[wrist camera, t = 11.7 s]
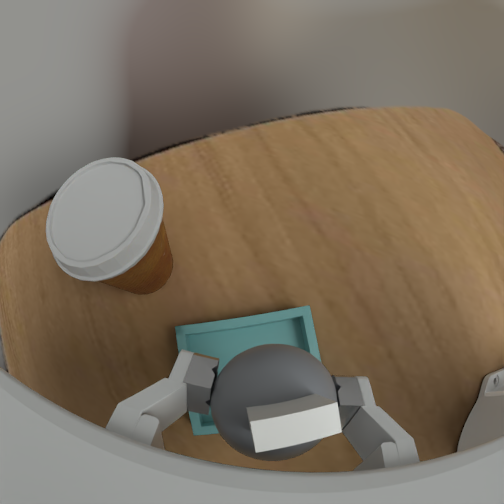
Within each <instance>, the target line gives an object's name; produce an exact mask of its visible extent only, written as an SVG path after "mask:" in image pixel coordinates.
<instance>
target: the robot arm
mask: <svg viewBox="0 0 504 504" xmlns="http://www.w3.org/2000/svg"><path fill="white" fill-rule="evenodd" d="M219 360H220V359H219V358H215V357H211V356H207V355H203V354H199V353H194V352H190V351H187V350H183V349H182V350H181V351H180V353H179V355H178V357H177V360H176V362H175V364H174V367H173V369H172V371H171V374H170V376H169V378H163V379H162V380H160V381H158V382H156V383H155V384H153V385H151V386H149V387H147V388H146V389H144V390H142V391H140V392H138V393H137V394H135V395H133V396H131V397H129V398H127V399H125V400H124V401H122V402H120V403H118V405H117V407H116V409H115V411H114V412H113V414H112V416H111V418H110V420H109V422H108V424H107V426H106V428H103V427H101V426H98V425H96V424H94V423H92V422H90V421H88V420H85V419H83V418H81V417H79V416H77V415H75V414H73V413H72V412H70V411H68V410H66V409H64V408H62V407H60V406H59V405H57V404H55V403H53V402H52V401H50V400H48V399H47V398H45V397H43V396H42V395H40V394H38V393H37V392H35V391H34V390H32V389H31V388H29V387H27V386H26V385H24V384H23V383H22V382H20V381H19V380H17V379H16V378H14V377H13V376H12V375H10V374H9V373H8V372H6V371H5V370H4V369H2V368H1V367H0V504H504V368H502V369H500V370H497V371H495V372H493V373H490V374H488V375H486V376H485V378H484V380H483V383H482V386H481V390H480V393H479V397H478V400H477V402H476V404H475V405H474V407H473V409H472V411H471V413H470V415H469V417H468V419H467V421H466V423H465V425H464V428H463V431H462V434H461V437H460V440H459V444H458V449H457V452H456V453H453V454H449V455H446V456H442V457H438V458H434V459H430V460H426V461H421V462H420V461H419V457H418V453H417V450H416V446H415V442H414V439H413V438H412V437H411V436H410V435H409V434H408V433H407V432H406V431H405V430H404V429H403V428H402V427H401V426H400V425H398V424H397V423H396V422H395V421H394V420H393V419H392V418H391V417H390V416H389V415H388V414H387V413H386V412H385V411H384V410H383V409H382V408H381V407H379V406H376V404H375V400H374V397H373V393H372V389H371V386H370V382H369V379H368V378H367V377H364V376H345V375H332V376H331V377H332V379H333V382H334V385H335V389H336V394H337V402H338V409H339V416H340V423H341V430H342V432H343V434H344V435H345V436H346V438H347V439H348V440H349V442H350V443H351V445H352V446H353V447H354V449H355V450H356V451H357V453H358V454H359V455H360V457H361V458H362V460H363V462H362V463H361V464H359V465H358V466H357V467H356V468H355V469H354V470H353V471H347V472H287V471H273V470H262V469H253V468H246V467H239V466H232V465H226V464H220V463H215V462H210V461H205V460H201V459H196V458H192V457H188V456H184V455H180V454H176V453H173V452H169V451H166V450H165V447H164V443H163V438H162V433H161V432H162V431H163V430H165V429H166V428H167V427H168V426H170V425H171V424H172V423H174V422H175V421H176V420H177V419H179V418H180V417H181V416H182V415H184V414H185V413H186V412H187V411H191V412H195V413H200V414H205V415H209V411H210V407H211V394H212V389H213V386H214V383H215V381H216V379H217V376H218V367H219Z"/></svg>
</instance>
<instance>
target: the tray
mask: <svg viewBox="0 0 504 504" xmlns="http://www.w3.org/2000/svg"><path fill="white" fill-rule="evenodd" d="M175 330H176V338H177V345H178V352H179V353H180V351H181V350H182V349H183V350H187V351H190V352H194V353H199V354H203V355H207V356H211V357H215V358H219V359H220V360H219V367H218V375H219V373H220V372H221V370H222V369H223V368H224V367H225V365H226V364H227V363H228V362H229V361H230V360H231V359H232V358H234V357H235V356H236V355H238V354H240V353H241V352H243V351H245V350H247V349H250V348H253V347H255V346H259V345H264V344H285V345H291V346H295V347H298V348H300V349H303V350H305V351H307V352H308V353H310V354H312V355H313V356H314V357H316V358H317V359H318V360H319V361H320V362H321V359H320V354H319V349H318V344H317V339H316V334H315V329H314V324H313V319H312V315H311V310H310V306H309V305H308V306H303V307H298V308H293V309H287V310H282V311H277V312H271V313H265V314H259V315H253V316H247V317H241V318H234V319H227V320H221V321H214V322H206V323H199V324H191V325H183V326H175ZM217 377H218V376H217ZM189 416H190V420H191V425H192V430H193V434H194V435H206V434H217V433H219V432H218V430H217V428H216V426H215V424H214V421H213V418H212V414H211V407H210V411H209V415H205V414H200V413H195V412H191V411H189Z"/></svg>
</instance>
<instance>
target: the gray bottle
mask: <svg viewBox="0 0 504 504" xmlns="http://www.w3.org/2000/svg"><path fill="white" fill-rule="evenodd" d="M211 414H212V418H213V421H214V424H215V426H216V428H217V430H218V432H219V433H220V435H221V436H222V437H223V439H224V440H225V441H226V442H227V443H228V444H229V445H230V446H231V447H232V448H234V449H235V450H237V451H238V452H240V453H242V454H244V455H246V456H249V457H252V458H255V459H259V460H265V461H280V460H287V459H290V458H294V457H297V456H299V455H301V454H303V453H305V452H307V451H309V450H310V449H311V448H313V447H314V446H315V445H317V444H318V443H319V442H320V441H321V440H322V439H323V438H324V437H328V436H331V435H334V434H337V433H341V432H342V430H341V423H340V416H339V409H338V402H337V394H336V389H335V385H334V382H333V379H332V377H331V375H330V373H329V372H328V370H327V369H326V367H325V366H324V365H323V364H322V363H321V362H320V361H319V360H318V359H317V358H316V357H314V356H313V355H312V354H310V353H308V352H307V351H305V350H303V349H300V348H298V347H295V346H291V345H285V344H264V345H259V346H255V347H253V348H250V349H247V350H245V351H243V352H241V353H240V354H238V355H236V356H235V357H234V358H232V359H231V360H230V361H229V362H228V363H227V364H226V365H225V367H224V368H223V369H222V370H221V372H220V373H219V375H218V377H217V379H216V381H215V383H214V386H213V389H212V394H211Z"/></svg>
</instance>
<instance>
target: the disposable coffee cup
mask: <svg viewBox="0 0 504 504" xmlns="http://www.w3.org/2000/svg"><path fill="white" fill-rule="evenodd" d="M163 207H164V205H163V196H162V192H161V189H160V186H159V184H158V182H157V180H156V179H155V178H154V176H153V175H152V174H151V173H150V172H148V171H147V170H146V169H144V168H142V167H140V166H139V165H138V164H136V163H135V162H133V161H131V160H127V159H124V158H115V157H112V158H105V159H101V160H97V161H94V162H92V163H90V164H88V165H86V166H84V167H83V168H81V169H79V170H78V171H77V172H75V173H74V174H73V175H72V176H71V177H70V178H69V179H68V180H67V181H66V182H65V183H64V184H63V185H62V186H61V188H60V189H59V191H58V192H57V194H56V195H55V197H54V199H53V201H52V203H51V205H50V209H49V213H48V217H47V221H46V236H47V241H48V244H49V246H50V249H51V251H52V253H53V256H54V259H55V260H56V262H57V264H58V265H59V266H60V267H61V269H62V270H63V271H64V272H66V273H67V274H69V275H70V276H72V277H74V278H77V279H79V280H83V281H99V282H102V283H105V284H109V285H111V286H115V287H118V288H121V289H124V290H126V291H130V292H133V293H135V294H149V293H153V292H155V291H157V290H158V289H160V288H161V287H162V286H163V285H164V284H165V283H166V282H167V280H168V279H169V277H170V275H171V272H172V268H173V258H172V254H171V250H170V246H169V243H168V238H167V235H166V231H165V227H164V222H163V218H162V216H163Z"/></svg>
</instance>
